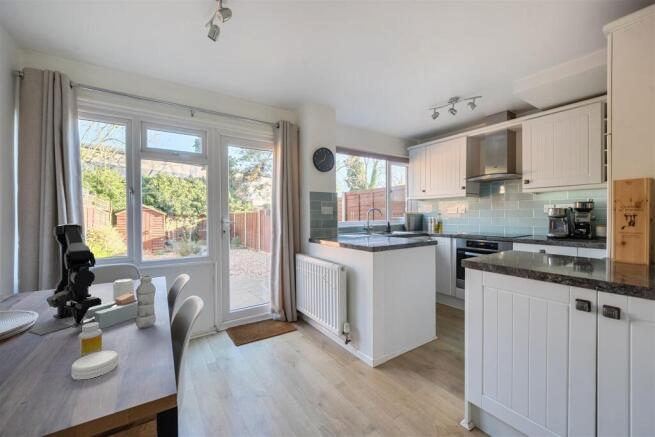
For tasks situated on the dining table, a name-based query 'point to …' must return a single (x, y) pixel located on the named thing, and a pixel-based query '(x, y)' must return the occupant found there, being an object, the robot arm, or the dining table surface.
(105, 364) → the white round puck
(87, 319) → the lever
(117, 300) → the tile
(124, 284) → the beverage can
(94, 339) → the supplement bottle
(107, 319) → the grey-green channel block
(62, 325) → the pad
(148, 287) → the plastic bottle
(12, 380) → the dining table surface
